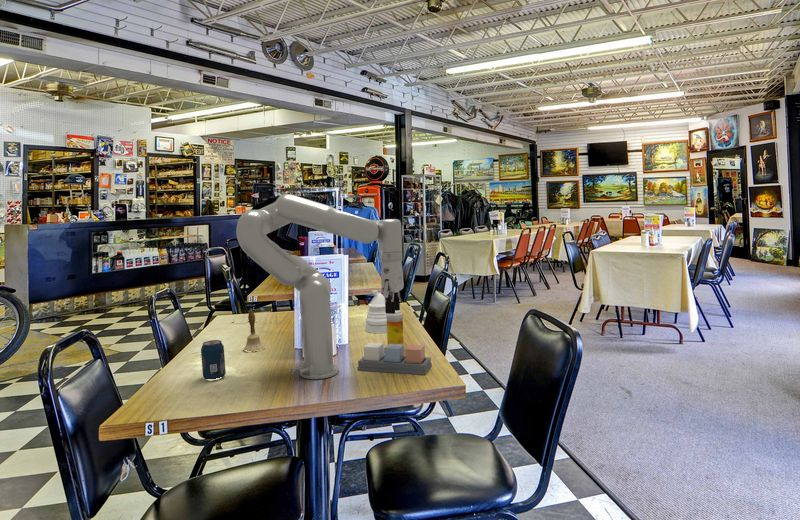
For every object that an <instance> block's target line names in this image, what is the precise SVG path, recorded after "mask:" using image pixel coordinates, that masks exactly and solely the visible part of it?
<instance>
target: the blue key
mask: <svg viewBox="0 0 800 520" xmlns="http://www.w3.org/2000/svg"><path fill="white" fill-rule="evenodd" d="M384 355H385V361H388V362H400V361H401V360H402V359H403V358H404V356H405V344H387V345H386V346H384Z"/></svg>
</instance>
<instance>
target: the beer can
mask: <svg viewBox="0 0 800 520" xmlns="http://www.w3.org/2000/svg"><path fill="white" fill-rule="evenodd" d="M403 317H404V316H403V313H402V310H401V309H400V310H399V311H395V314H386V318H387V333H386V339H387V342H386V343H387V345H388V344H404V343H405V342H404V321H403V320H404V318H403ZM404 345H405V344H404Z"/></svg>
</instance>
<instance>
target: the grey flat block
mask: <svg viewBox="0 0 800 520" xmlns="http://www.w3.org/2000/svg"><path fill="white" fill-rule="evenodd" d="M357 362H358V366H357V371H364V372H375V373H376V372H379V373H388V374H389V373H390V374H391V373H392V374H403V375H417V374H423V375H422V376H425V374H426V375H427V373H428V372H429V371H430V369H431V367H432V366H433V363H432V357H428V356H427V357H426V356H425V359H424V361H423V362H422V363H421V364H419V363H406V360H405V355H404V358H403V359H402V360H401V361H400V362H388V361H385V355H384V357H383V358H382V359H381V360H380V361H372V360H364V356H363V357H361V358H360V359H359V360H358V361H357ZM428 370H429V371H428Z"/></svg>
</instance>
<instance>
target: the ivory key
mask: <svg viewBox="0 0 800 520" xmlns="http://www.w3.org/2000/svg"><path fill="white" fill-rule="evenodd" d="M384 348H385V344H384V342H383V343H382V342H379V343H378V342H368V343H367V344H366V345H364V346H363V357H364V360H372V361H380V360H381V359H382V358H383V357H384Z"/></svg>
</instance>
